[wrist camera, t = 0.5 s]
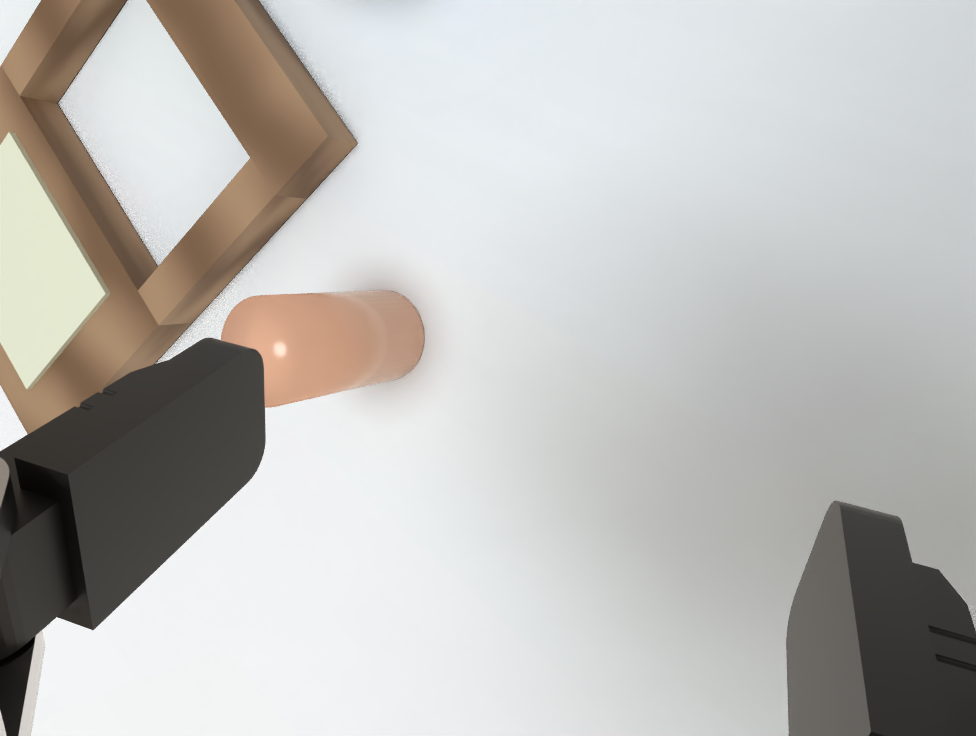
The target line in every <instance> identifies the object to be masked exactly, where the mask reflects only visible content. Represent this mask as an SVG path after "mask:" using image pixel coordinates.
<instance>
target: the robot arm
mask: <svg viewBox="0 0 976 736" xmlns="http://www.w3.org/2000/svg"><path fill="white" fill-rule="evenodd" d="M264 449H265V395H264V364H263V359H262V356H261V354H260V353H259V352H258V351H257V350H255V349H252V348H249V347H245V346H241V345H237V344H233V343H229V342H225V341H221V340H218V339H214V338H205V339H202V340H200V341H199V342H197V343H196V344H194V345H192V346H191V347H189V348H188V349H186V350H184V351H183V352H181V353H180V354H178V355H176V356H175V357H173V358H172V359H170V360H168V361H164V362H161V363H158V364H154V365H151V366H148V367H145V368H142V369H139V370H135V371H132V372H130V373H128V374H127V375H125V376H123V377H122V378H120V379H119V380H117V381H115V382H114V383H112V384H110V385H109V386H107V387H105V388H104V389H103V392H102V393H99V392H97V393H95V394H94V395H92V396H91V397H89V398H87V399H86V400H84V401H82V402H81V403H80V406H79V407H75V406H74V407H72V408H71V409H69V410H68V411H66V412H64V413H63V414H61V415H59V416H58V417H56V418H54V419H53V420H51V421H49V422H48V423H46V424H45V425H43V426H41V427H40V428H38V429H36V430H35V431H33V432H31V433H30V434H28V435H26V436H25V437H23V438H22V439H20V440H18V441H17V442H15V443H13V444H12V445H10V446H8V447H7V448H5V449H3V450H2V451H0V736H31V731H32V725H33V719H34V713H35V706H36V700H37V694H38V687H39V681H40V675H41V669H42V662H43V656H44V648H45V643H44V638H43V633H42V629H44V628H45V627H46V626H47V625H48V624H49V623H50V622H51V621H53V620H54V619H55V618H56V617H58V618H61V619H64V620H67V621H69V622H72V623H75V624H78V625H80V626H83V627H86V628H89V629H91V630H94V629H95V628H96V627H97V626H98V625H99V624H100V623H101V622H102V621H103V620H104V619H106V618H107V617H108V616H109V615H110V614H111V613H112V612H113V611H114V610H115V609H116V608H117V607H118V606H119V605H120V604H121V603H122V602H123V601H124V600H125V599H126V598H127V597H129V596H130V595H131V594H132V593H133V592H134V591H135V590H136V589H137V588H138V587H139V586H140V585H141V584H142V583H143V582H144V581H145V580H146V579H147V578H148V577H149V576H150V575H151V574H153V573H154V572H155V571H156V570H157V569H158V568H159V567H160V566H161V565H162V564H163V563H164V562H165V561H166V560H167V559H168V558H169V557H170V556H171V555H172V554H173V553H174V552H176V551H177V550H178V549H179V548H180V547H181V546H182V545H183V544H184V543H185V542H186V541H187V540H188V539H189V538H190V537H191V536H192V535H193V534H194V533H195V532H196V531H197V530H198V529H200V528H201V527H202V526H203V525H204V524H205V523H206V522H207V521H208V520H209V519H210V518H211V517H212V516H213V515H214V514H215V513H216V512H217V511H218V510H219V509H220V508H221V507H223V506H224V505H225V504H226V503H227V502H228V501H229V500H230V499H231V498H232V497H233V496H234V495H235V494H236V493H237V492H238V491H239V490H240V489H241V488H242V487H243V486H244V485H246V484H247V483H248V482H249V480H250V479H251V478H252V477H253V476H254V474H255V472H256V471H257V469H258V467H259V465H260V462H261V460H262V457H263V453H264ZM786 649H787V684H788V720H789V736H976V631H975V628H974V625H973V621H972V618H971V615H970V612H969V609H968V606H967V604H966V603H965V601H964V600H963V599H962V598H961V597H960V595H959V594H958V593H957V592H956V590H955V589H954V588H953V587H952V586H951V584H950V583H949V582H948V581H947V579H946V578H945V577H944V576H943V575H942V573H941V572H940V571H939V570H938V569H934V568H930V567H926V566H923V565H919V564H915V563H912V560H911V556H910V552H909V548H908V544H907V540H906V536H905V532H904V528H903V524H902V521H901V519H900V518H899V517H897V516H893V515H889V514H885V513H882V512H878V511H874V510H870V509H866V508H862V507H858V506H855V505H851V504H847V503H843V502H839V501H834V502H833V503H832V504H831V505H830V507H829V509H828V511H827V513H826V515H825V517H824V520H823V523H822V525H821V528H820V531H819V533H818V536H817V538H816V541H815V544H814V546H813V549H812V551H811V554H810V557H809V559H808V562H807V564H806V567H805V570H804V572H803V575H802V578H801V580H800V583H799V585H798V588H797V591H796V593H795V596H794V600H793V603H792V607H791V611H790V616H789V621H788V628H787V640H786Z"/></svg>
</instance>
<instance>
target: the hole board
mask: <svg viewBox="0 0 976 736" xmlns="http://www.w3.org/2000/svg"><path fill="white" fill-rule="evenodd" d="M126 1H127V0H41V2H40V3H39V5H38V6H37V8H36V10H35V11H34V13H33V14H32V16H31V18H30V19H29V21H28V23H27V24H26V26H25V27H24V29H23V31H22V32H21V34H20V36H19V37H18V39H17V40H16V42H15V44H14V45H13V47H12V49H11V50H10V52H9V53H8V55H7V57H6V58H5V60H4V62H3V63H2V65H1V66H0V385H1V387H2V389H3V391H4V392H5V394H6V396H7V398H8V400H9V401H10V403H11V405H12V407H13V409H14V410H15V412H16V414H17V416H18V418H19V419H20V421H21V423H22V425H23V427H24V428H25V430H26V432H27V434H30V433H31V432H33V431H35V430H36V429H38V428H40V427H41V426H43V425H45V424H46V423H48V422H49V421H51V420H53V419H54V418H56V417H58V416H59V415H61V414H63V413H64V412H66V411H68V410H69V409H71V408H72V407H74V406H75V407H79V406H80V403H81V402H82V401H84V400H86V399H87V398H89V397H91V396H92V395H94V394H95V393H97V392H99V393H102V392H103V389H104V388H105V387H107V386H109V385H110V384H112V383H114V382H115V381H117V380H119V379H120V378H122V377H123V376H125V375H127V374H128V373H130V372H132V371H135V370H139V369H142V368H145V367H148V366H151V365H154V364H155V363H156V362H157V360H158V359H159V358H160V357H161V356H162V355H163V354H164V353H165V352H166V351H167V350H168V349H169V347H170V346H171V345H172V344H173V343H174V342H175V341H176V340H177V339H178V338H179V337H180V335H181V334H182V333H183V332H184V331H185V330H186V329H187V328H188V327H189V326H190V325H191V324H192V322H193V321H194V320H195V319H196V318H197V317H198V316H199V315H200V314H201V313H202V312H203V311H204V309H205V308H206V307H207V306H208V305H209V304H210V303H211V302H212V301H213V300H214V299H215V298H216V296H217V295H218V294H219V293H220V292H221V291H222V290H223V289H224V288H225V287H226V286H227V284H228V283H229V282H230V281H231V280H232V279H233V278H234V277H235V276H236V275H237V274H238V273H239V271H240V270H241V269H242V268H243V267H244V266H245V265H246V264H247V263H248V262H249V261H250V260H251V258H252V257H253V256H254V255H255V254H256V253H257V252H258V251H259V250H260V249H261V248H262V247H263V245H264V244H265V243H266V242H267V241H268V240H269V239H270V238H271V237H272V236H273V235H274V233H275V232H276V231H277V230H278V229H279V228H280V227H281V226H282V225H283V224H284V223H285V222H286V220H287V219H288V218H289V217H290V216H291V215H292V214H293V213H294V212H295V211H296V210H297V209H298V207H299V206H300V205H301V204H302V203H303V202H304V201H305V200H306V199H307V198H308V197H309V196H310V194H311V193H312V192H313V191H314V190H315V189H316V188H317V187H318V186H319V185H320V184H321V182H322V181H323V180H324V179H325V178H326V177H327V176H328V175H329V174H330V173H331V172H332V171H333V169H334V168H335V167H336V166H337V165H338V164H339V163H340V162H341V161H342V160H343V159H344V158H345V156H346V155H347V154H348V153H349V152H350V151H351V150H352V149H353V148H354V147H355V146H356V145H357V142H356V140H355V139H354V137H353V136H352V134H351V133H350V132H349V130H348V129H347V127H346V126H345V124H344V123H343V122H342V120H341V119H340V117H339V116H338V114H337V113H336V111H335V110H334V109H333V107H332V106H331V104H330V103H329V101H328V100H327V98H326V97H325V96H324V94H323V93H322V91H321V90H320V88H319V87H318V85H317V84H316V83H315V81H314V80H313V78H312V77H311V75H310V74H309V73H308V71H307V70H306V68H305V67H304V65H303V64H302V62H301V61H300V60H299V58H298V57H297V55H296V54H295V52H294V51H293V49H292V48H291V47H290V45H289V44H288V42H287V41H286V39H285V38H284V37H283V35H282V34H281V32H280V31H279V29H278V28H277V26H276V25H275V24H274V22H273V21H272V19H271V18H270V16H269V15H268V13H267V12H266V11H265V9H264V8H263V6H262V5H261V3H260V2H259V1H258V0H147V2H148V4H149V5H150V7H151V8H152V10H153V11H154V13H155V14H156V16H157V17H158V19H159V20H160V22H161V23H162V25H163V26H164V28H165V29H166V31H167V32H168V34H169V35H170V37H171V38H172V40H173V41H174V43H175V44H176V46H177V47H178V49H179V50H180V52H181V53H182V55H183V56H184V58H185V59H186V61H187V63H188V64H189V66H190V67H191V69H192V70H193V72H194V73H195V75H196V76H197V78H198V79H199V81H200V82H201V84H202V85H203V87H204V88H205V90H206V91H207V93H208V94H209V96H210V97H211V99H212V100H213V102H214V103H215V105H216V106H217V108H218V109H219V111H220V112H221V114H222V115H223V117H224V118H225V120H226V122H227V123H228V125H229V126H230V128H231V129H232V131H233V132H234V134H235V135H236V137H237V138H238V140H239V141H240V143H241V144H242V146H243V147H244V149H245V150H246V152H247V153H248V155H249V156H250V159H249V160H248V162H247V163H246V164H245V165H244V166H243V168H242V169H241V170H240V171H239V172H238V173H237V175H236V176H235V177H234V178H233V179H232V180H231V182H230V183H229V184H228V185H227V186H226V188H225V189H224V190H223V191H222V192H221V193H220V195H219V196H218V197H217V198H216V199H215V200H214V202H213V203H212V204H211V205H210V206H209V208H208V209H207V210H206V211H205V212H204V213H203V215H202V216H201V217H200V218H199V219H198V220H197V222H196V223H195V224H194V225H193V226H192V227H191V229H190V230H189V231H188V232H187V233H186V235H185V236H184V237H183V238H182V239H181V240H180V242H179V243H178V244H177V245H176V246H175V247H174V249H173V250H172V251H171V252H170V253H169V255H168V256H167V257H166V258H165V259H164V260H163V262H162V263H161V264H160V265H159V266H157V265H156V263H155V262H154V260H153V258H152V257H151V255H150V253H149V252H148V250H147V249H146V247H145V245H144V244H143V242H142V240H141V239H140V237H139V236H138V234H137V232H136V231H135V229H134V227H133V226H132V224H131V223H130V221H129V219H128V218H127V216H126V214H125V213H124V211H123V210H122V208H121V206H120V205H119V203H118V201H117V200H116V198H115V197H114V195H113V193H112V192H111V190H110V188H109V187H108V185H107V184H106V182H105V180H104V179H103V177H102V175H101V174H100V172H99V171H98V169H97V167H96V166H95V164H94V162H93V161H92V159H91V158H90V156H89V154H88V153H87V151H86V149H85V148H84V146H83V145H82V143H81V141H80V140H79V138H78V136H77V135H76V133H75V132H74V130H73V128H72V127H71V125H70V123H69V122H68V120H67V119H66V117H65V115H64V114H63V112H62V110H61V109H60V107H59V106H58V104H57V103H58V102H59V100H60V99H61V97H62V96H63V94H64V93H65V91H66V90H67V88H68V87H69V85H70V84H71V82H72V81H73V79H74V78H75V76H76V75H77V73H78V72H79V70H80V69H81V67H82V66H83V64H84V63H85V61H86V60H87V59H88V57H89V56H90V54H91V53H92V51H93V50H94V48H95V47H96V45H97V44H98V42H99V41H100V39H101V38H102V36H103V35H104V33H105V32H106V30H107V29H108V27H109V26H110V24H111V23H112V21H113V20H114V18H115V17H116V15H117V14H118V13H119V11H120V10H121V8H122V7H123V5H124V4H125V2H126Z"/></svg>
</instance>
